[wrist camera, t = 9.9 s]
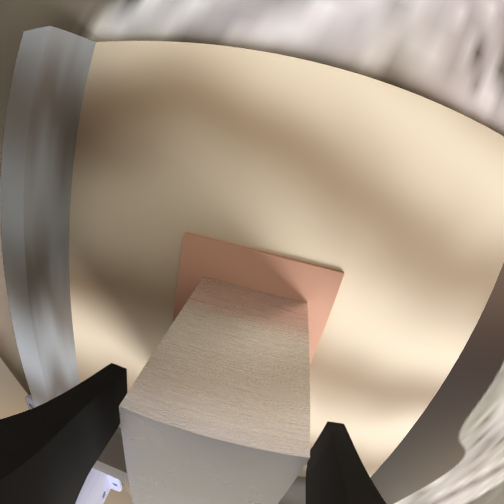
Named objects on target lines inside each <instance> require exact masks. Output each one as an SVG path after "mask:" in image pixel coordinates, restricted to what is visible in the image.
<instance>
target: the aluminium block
mask: <svg viewBox="0 0 504 504" xmlns="http://www.w3.org/2000/svg"><path fill="white" fill-rule="evenodd" d="M119 414H120V424H121V433H122V441H123V448H124V456H125V462H126V469H127V475H128V481H129V486H130V492H131V497H132V502H133V504H278V503H279V501H280V500H281V499H282V497H283V496H284V495H285V493H286V492H287V490H288V489H289V488H290V486H291V485H292V483H293V482H294V481H295V479H296V478H297V476H298V475H299V473H300V472H301V471H302V469H303V468H304V466H305V465H306V463H307V462H308V460H309V459H310V360H309V328H308V304H307V302H305V301H300V300H296V299H292V298H288V297H284V296H280V295H276V294H272V293H268V292H264V291H260V290H256V289H252V288H248V287H244V286H240V285H236V284H233V283H229V282H225V281H221V280H217V279H213V278H210V277H206V276H204V277H203V278H202V280H201V281H200V283H199V284H198V286H197V287H196V289H195V290H194V292H193V293H192V295H191V296H190V298H189V299H188V301H187V302H186V304H185V305H184V307H183V308H182V310H181V311H180V313H179V314H178V316H177V317H176V319H175V320H174V322H173V323H172V325H171V326H170V328H169V329H168V331H167V332H166V334H165V335H164V337H163V339H162V340H161V342H160V343H159V345H158V346H157V348H156V349H155V351H154V352H153V354H152V355H151V357H150V358H149V360H148V362H147V363H146V365H145V366H144V368H143V369H142V371H141V372H140V374H139V375H138V377H137V379H136V380H135V382H134V383H133V385H132V386H131V388H130V390H129V391H128V393H127V394H126V396H125V397H124V399H123V401H122V402H121V404H120V405H119Z"/></svg>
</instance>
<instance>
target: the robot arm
mask: <svg viewBox="0 0 504 504" xmlns="http://www.w3.org/2000/svg"><path fill="white" fill-rule="evenodd" d="M127 393H128V391H127V369H126V368H124V367H121V366H118V365H116V364H113V363H111V364H109V365H107V366H106V367H104V368H103V369H101V370H100V371H98V372H97V373H95V374H94V375H92V376H91V377H89V378H87V379H86V380H84V381H83V382H81V383H80V384H78V385H76V386H75V387H73V388H71V389H70V390H68V391H66V392H64V393H63V394H61V395H59V396H57V397H55V398H53V399H51V400H49V401H47V402H46V403H43V404H41V405H39V406H37V407H35V405H34V402H33V399H32V396H31V395H27V396H26V401H27V404H28V407H29V410H28V411H25V412H22V413H19V414H16V415H13V416H10V417H7V418H4V419H0V504H103V503H104V501H105V499H106V496H107V495H108V493H109V491H110V489H114V490H116V491H119V492H120V491H121V490H122V484H121V480H119V479H116V478H114V477H112V476H109V475H107V474H105V473H103V472H100V471H98V470H96V469H94V468H92V467H93V466H94V464H95V463H96V461H97V460H98V458H99V456H100V455H101V453H102V452H103V450H104V449H105V447H106V446H107V444H108V442H109V441H110V439H111V438H112V436H113V435H114V433H115V431H116V430H117V428H118V426H119V424H120V414H119V405H120V404H121V402H122V401H123V399H124V397H125V396H126V394H127ZM306 504H386V503H385V501H384V500H383V498H382V497H381V495H380V493H379V492H378V490H377V489H376V487H375V485H374V484H373V482H372V480H371V478H370V476H369V474H368V473H367V471H366V469H365V467H364V465H363V463H362V461H361V459H360V457H359V455H358V453H357V451H356V449H355V446H354V444H353V442H352V440H351V438H350V435H349V433H348V431H347V429H346V427H345V425H344V424H343V423H336V422H329V421H328V422H327V423H326V425H325V427H324V428H323V430H322V432H321V433H320V435H319V437H318V438H317V440H316V442H315V443H314V445H313V447H312V448H311V450H310V459H309V460H308V462H307V469H306Z"/></svg>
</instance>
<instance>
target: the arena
mask: <svg viewBox="0 0 504 504" xmlns="http://www.w3.org/2000/svg"><path fill="white" fill-rule="evenodd" d="M0 217H1V239H2V252H3V263H4V272H5V280H6V288H7V295H8V301H9V307H10V313H11V318H12V323H13V328H14V333H15V337H16V342H17V346H18V350H19V354H20V358H21V362H22V366H23V369H24V373H25V376H26V380H27V383H28V386H29V390H30V393H31V396H32V399H33V402H34V405H35V407H37V406H39V405H41V404H43V403H46V402H47V401H49V400H51V399H53V398H55V397H57V396H59V395H61V394H63V393H64V392H66V391H68V390H70V389H71V388H73V387H75V386H76V385H78V384H80V383H81V382H83V381H84V380H86V379H87V378H89V377H91V376H92V375H94V374H95V373H97V372H98V371H100V370H101V369H103V368H104V367H106V366H107V365H109V364H111V363H113V364H116V365H118V366H121V367H124V368H126V369H127V391H129V390H130V388H131V386H132V385H133V383H134V382H135V380H136V379H137V377H138V375H139V374H140V372H141V371H142V369H143V368H144V366H145V365H146V363H147V362H148V360H149V358H150V357H151V355H152V354H153V352H154V351H155V349H156V348H157V346H158V345H159V343H160V342H161V340H162V339H163V337H164V335H165V334H166V332H167V331H168V329H169V328H170V326H171V325H172V323H173V322H174V320H175V319H176V317H177V316H178V314H179V313H180V311H181V310H182V308H183V307H184V305H185V304H186V302H187V301H188V299H189V298H190V296H191V295H192V293H193V292H194V290H195V289H196V287H197V286H198V284H199V283H200V281H201V280H202V278H203V277H204V276H206V277H210V278H213V279H217V280H221V281H225V282H229V283H233V284H236V285H240V286H244V287H248V288H252V289H256V290H260V291H264V292H268V293H272V294H276V295H280V296H284V297H288V298H292V299H296V300H300V301H305V302H307V304H308V328H309V360H310V450H311V448H312V447H313V445H314V443H315V442H316V440H317V438H318V437H319V435H320V433H321V432H322V430H323V428H324V427H325V425H326V423H327V422H328V421H329V422H336V423H343V424H344V425H345V427H346V429H347V431H348V433H349V435H350V438H351V440H352V442H353V444H354V446H355V449H356V451H357V453H358V455H359V457H360V459H361V461H362V463H363V465H364V467H365V469H366V471H367V473H368V474H369V476H370V477H371V476H372V475H373V474H374V472H375V471H376V470H377V469H378V468H379V467H380V466H381V465H382V463H383V462H384V461H385V460H386V459H387V458H388V456H389V455H390V454H391V453H392V452H393V450H394V449H395V448H396V447H397V446H398V444H399V443H400V442H401V441H402V439H403V438H404V437H405V436H406V434H407V433H408V432H409V430H410V429H411V428H412V426H413V425H414V424H415V422H416V421H417V420H418V418H419V417H420V416H421V414H422V413H423V411H424V410H425V409H426V407H427V406H428V404H429V403H430V401H431V400H432V398H433V397H434V396H435V394H436V393H437V391H438V390H439V388H440V386H441V385H442V383H443V382H444V380H445V379H446V377H447V375H448V374H449V372H450V370H451V369H452V367H453V365H454V364H455V362H456V360H457V359H458V357H459V355H460V353H461V351H462V350H463V348H464V346H465V345H466V343H467V341H468V339H469V337H470V335H471V333H472V331H473V329H474V328H475V326H476V324H477V321H478V320H479V318H480V316H481V313H482V311H483V309H484V307H485V305H486V303H487V301H488V298H489V296H490V294H491V292H492V289H493V287H494V285H495V282H496V280H497V278H498V275H499V273H500V270H501V268H502V265H503V263H504V136H502V135H501V134H499V133H497V132H495V131H493V130H492V129H490V128H488V127H486V126H484V125H482V124H480V123H478V122H476V121H474V120H472V119H471V118H468V117H466V116H464V115H462V114H460V113H458V112H456V111H454V110H452V109H450V108H447V107H445V106H443V105H441V104H438V103H436V102H434V101H431V100H429V99H427V98H424V97H422V96H419V95H417V94H414V93H412V92H409V91H407V90H404V89H401V88H399V87H396V86H393V85H390V84H388V83H385V82H382V81H379V80H376V79H373V78H370V77H367V76H363V75H360V74H357V73H354V72H350V71H347V70H343V69H340V68H336V67H332V66H329V65H325V64H321V63H317V62H313V61H308V60H304V59H299V58H295V57H290V56H285V55H280V54H275V53H269V52H264V51H258V50H251V49H245V48H237V47H230V46H221V45H212V44H201V43H189V42H171V41H106V42H95V41H92V40H89V39H87V38H84V37H81V36H79V35H76V34H73V33H70V32H68V31H65V30H62V29H59V28H56V27H53V26H46V27H41V28H36V29H32V30H27V31H24V33H23V36H22V40H21V43H20V47H19V51H18V55H17V59H16V63H15V67H14V72H13V77H12V82H11V87H10V92H9V98H8V104H7V111H6V118H5V126H4V135H3V146H2V159H1V181H0ZM92 468H94V469H96V470H98V471H100V472H103V473H105V474H107V475H109V476H112V477H114V478H116V479H119V480H121V481H123V482H126V483H128V484H129V481H128V475H127V469H126V462H125V456H124V448H123V441H122V433H121V424H119V426H118V428H117V430H116V431H115V433H114V435H113V436H112V438H111V439H110V441H109V442H108V444H107V446H106V447H105V449H104V450H103V452H102V453H101V455H100V456H99V458H98V460H97V461H96V463H95V464H94V466H93V467H92ZM306 469H307V463H306V465H305V466H304V468H303V469H302V471H301V472H300V473H299V475H298V476H297V478H296V479H295V481H294V482H293V483H292V485H291V486H290V488H289V489H288V490H287V492H286V493H285V495H284V496H283V497H282V499H281V500H280V501H279V503H278V504H306Z"/></svg>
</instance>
